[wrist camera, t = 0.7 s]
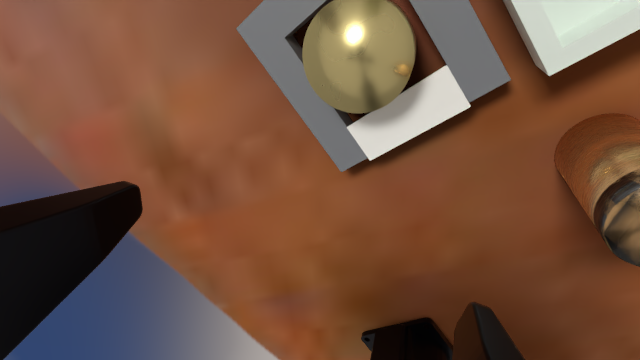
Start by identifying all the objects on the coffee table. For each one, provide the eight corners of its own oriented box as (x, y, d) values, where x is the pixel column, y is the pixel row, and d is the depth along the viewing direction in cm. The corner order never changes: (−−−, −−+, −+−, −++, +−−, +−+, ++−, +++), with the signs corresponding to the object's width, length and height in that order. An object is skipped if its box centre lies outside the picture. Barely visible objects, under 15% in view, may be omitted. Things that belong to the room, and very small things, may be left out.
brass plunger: (436, 66, 16) (436, 74, 15) (350, 120, 19) (343, 131, 17) (378, -34, 15) (371, -36, 14) (294, 39, 18) (281, 44, 16)
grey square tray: (508, 77, 17) (513, 83, 16) (347, 166, 22) (342, 175, 21) (399, -127, 14) (396, -136, 13) (246, 26, 19) (235, 28, 18)
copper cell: (664, 165, 17) (786, 261, 11) (572, 197, 19) (633, 292, 13) (635, 97, 16) (751, 163, 10) (541, 139, 18) (592, 213, 12)
